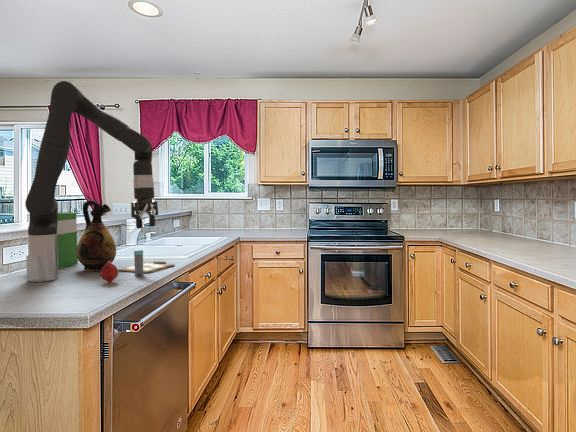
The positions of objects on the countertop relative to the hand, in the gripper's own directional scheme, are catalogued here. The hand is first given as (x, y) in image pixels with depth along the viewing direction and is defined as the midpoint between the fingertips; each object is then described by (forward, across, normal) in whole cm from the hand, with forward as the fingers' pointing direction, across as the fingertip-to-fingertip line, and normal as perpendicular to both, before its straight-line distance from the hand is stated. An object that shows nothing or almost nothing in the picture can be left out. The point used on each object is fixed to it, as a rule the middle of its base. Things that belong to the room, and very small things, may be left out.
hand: (146, 227), depth 154 cm
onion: (+19, +17, -5) cm, 26 cm away
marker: (+19, +3, -2) cm, 19 cm away
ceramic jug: (+18, -4, -29) cm, 35 cm away
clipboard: (+19, -11, -8) cm, 23 cm away
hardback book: (+18, -6, -50) cm, 54 cm away
